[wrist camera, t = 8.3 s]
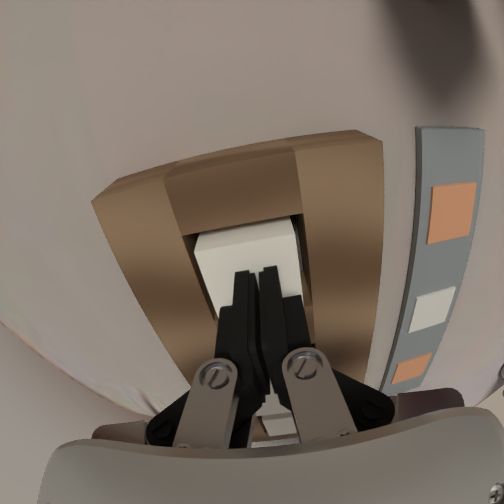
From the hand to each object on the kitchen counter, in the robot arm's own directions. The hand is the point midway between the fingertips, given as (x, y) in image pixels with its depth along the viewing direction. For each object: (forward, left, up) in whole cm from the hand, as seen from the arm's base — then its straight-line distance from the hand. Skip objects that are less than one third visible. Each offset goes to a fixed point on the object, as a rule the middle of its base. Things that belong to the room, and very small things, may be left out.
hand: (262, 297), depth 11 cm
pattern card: (-8, -12, -4) cm, 15 cm away
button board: (-8, 0, -4) cm, 9 cm away
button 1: (0, 0, -4) cm, 4 cm away
